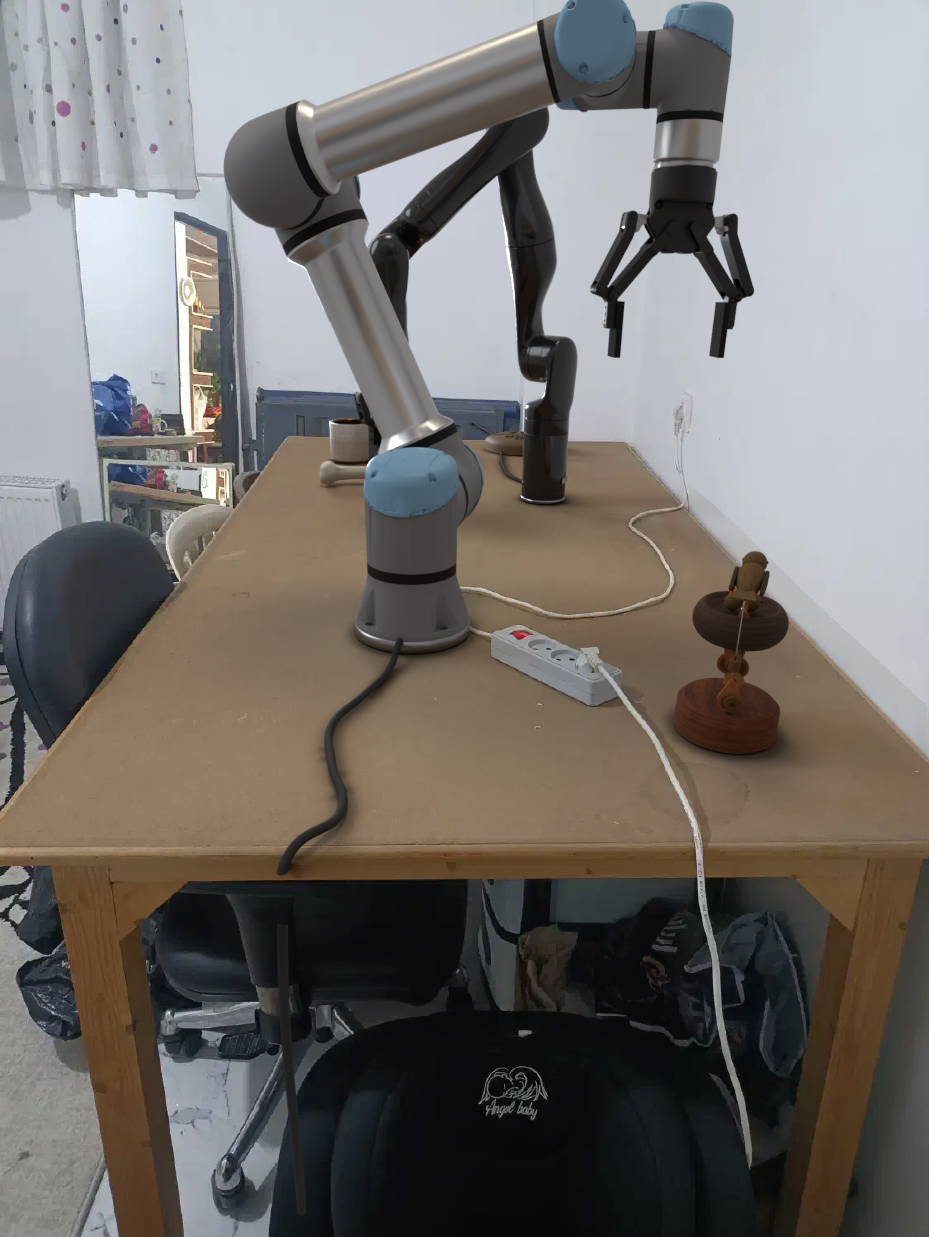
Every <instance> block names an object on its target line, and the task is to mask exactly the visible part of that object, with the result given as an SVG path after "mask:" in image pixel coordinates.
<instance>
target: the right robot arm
mask: <svg viewBox="0 0 929 1237" xmlns="http://www.w3.org/2000/svg"><path fill="white" fill-rule="evenodd" d="M549 126H550V111H549V106H547V107H545V108H542V109H539V110H536V111H533V112H531V113H528V114H525V115H522V116H520V117H517V118H514V119H511V120H509V121H506V122H503V123H500V124H497V125H495V126H492V127H489V128H486V129H485V133H483V135H482V136H481V138H480V139H479V140H478V141H477V142H476V143H475V144H474V145H473V146H472V147H471V148H469V149H468V151H466V152H465V153H464V154H463V155H461V156H460V157H459V158H458V159H456V160H455V161H453V163H450V164H449V165H448V166H446V167H445V168H444V169H442V170H441V171H440V172H439V173H437V174H436V175H435V176H434V177H433V178H432V179H430V181H428V182H427V183H426V184H425V185H424V186H423V187H422V188H421V189H420V190H419V191H418V193H417V194H415V195H414V197H413V198H412V199H411V200H410V201H409V202H408V203H407V204H406V205H405V207H404V208H403V210H402V211H401V212H400V213H399V214H398V216H396V217H395V218H394V219H393V220H391V222H389V223H388V224H387V225H386V226H384V228H383V229H381V230H380V231H379V233H378V234H377V235H375V237H373V238H372V239H371V240H370V242H369V243H368V245H367V249H368V251H369V253H370V256H371V258H372V260H373V263H374V265H375V267H376V270H377V272H378V274H379V277H380V279H381V281H382V283H383V286H384V288H385V290H386V293H387V295H388V297H389V300H390V302H391V304H392V307H393V309H394V311H395V314H396V316H397V318H398V321H399V323H400V325H401V327H402V330H403V332H404V334H405V337H406V339H407V341H408V344H409V345H410V340H409V330H408V301H407V300H408V299H407V297H408V296H407V294H408V285H409V275H410V260H411V259H412V258H413V257H414V255H416V253H417V252H418V251H419V250H421V248H422V247H423V246H424V245H425V244H427V243H429V242H430V241H431V240H433V239H434V238H435V237H437V235H438V234H439V233H440V232H441V231H442V230H443V229H445V227H447V225H448V224H449V223H450V222H451V221H452V220H453V219H454V218H455V217H456V216H457V215H458V214H459V212H461V211H462V210H463V208H464V207H465V206H467V205H468V203H469V202H470V201H472V200H473V198H475V197H476V195H478V194H479V193H480V192H481V191H482V190H483V189H484V188H486V187H487V185H488V184H489V183H491V182H492V181H493V180H494V179H495V178H496V180H497V181H496V182H497V186H498V187H497V188H498V194H499V203H500V211H501V219H502V220H501V221H502V226H503V233H504V234H503V235H504V243H505V251H506V252H505V253H506V259H507V266H508V270H509V274H510V275H509V276H510V283H511V291H512V298H513V308H514V316H515V317H514V318H515V338H516V354H517V364H518V367H519V370H520V373H521V375H522V377H523V378H524V379H525V380H527V381H529V382H534V383H540V384H545V387H544V392H543V394H542V396H540V397H538V398H536V399H533V400H530V401H528V402H526V403H525V406H524V417H523V418H524V419H523V420H524V421H523V423H524V424H523V432H524V443H523V455H522V470H521V471H522V472H521V478H519V477H517V476H515V475H513V474H512V473H510V472H509V471H508V470H507V467H506V466H505V462H504V454H503V452H502V451H501V452H500V454H499V461H500V466H501V468H502V470H503V472H504V474H505V475H506V476H507V477H509V478H511V479H512V480H514V481H516V482H518V483H521V490H520V491H521V493H520V500H521V501H523V502H526V503H529V504H536V505H556V504H561V503H563V502H565V500H566V483H567V482H568V476H567V465H568V449H569V432H570V417H571V416H570V415H571V409H572V406H573V403H574V399H575V388H576V380H577V372H578V364H579V363H578V361H579V360H578V359H579V356H578V348H577V345H576V343H575V342H574V340H573V339H572V338H571V337H568V336H563V335H551V334H550V335H549V334H546V333H545V331H544V323H543V322H544V320H543V306H544V303H545V300H546V297H547V294H548V292H549V290H550V288H551V285H552V283H553V280H554V278H555V274H556V272H557V267H558V255H557V245H556V237H555V230H554V229H555V227H554V224H553V220H552V217H551V214H550V211H549V209H548V206H547V204H546V201H545V199H544V196H543V194H542V191H541V188H540V185H539V182H538V179H537V174H536V169H535V167H536V166H535V159H534V158H535V157H534V148H536V147H537V146H539V144H540V143H541V142H542V141H543V139H544V138H545V137H546V134H547V132H548V130H549ZM353 398H354V403H355V406H356V412H357V416H358V418H359V420H360V423H362V424H365V425H368V426H369V428H370V443H371V444H372V445H373V447H375V448H380V445H381V435H380V432H379V430H378V428H377V426H376V424H375V421H374V419H373V417H372V415H371V413H370V410H369V408H368V406H367V404H366V402H365V399H364V397H363V395H362V393H361V391H355V392H354V393H353ZM470 425H471V426H473V425H475V426H476V427H477V428H478V429H480V430H482V431H484V432H486V433H488V434H489V435H492V434H494V432H493V431H491V430H489V429H488V428H485V427H484V426H481V425H479V424H478V425H477V424H475V423H473V422H472V421H471V423H470Z"/></svg>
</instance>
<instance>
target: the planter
mask: <svg viewBox="0 0 929 1237" xmlns="http://www.w3.org/2000/svg"><path fill="white" fill-rule="evenodd" d="M328 424H329V425H328V426H329V453H330V454H329V455H330V456H329V457H330V459H331V460H332V461H333V462H335V463H341V464H363V463H367V462H368V463H369V442H368V425H365V424H362V423H360V420H359V417H342V418H341V417H340V418H335V419H334V418H333V419H331V420H329V421H328Z"/></svg>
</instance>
